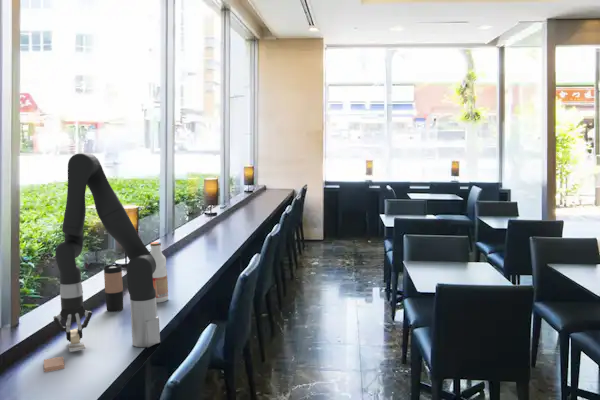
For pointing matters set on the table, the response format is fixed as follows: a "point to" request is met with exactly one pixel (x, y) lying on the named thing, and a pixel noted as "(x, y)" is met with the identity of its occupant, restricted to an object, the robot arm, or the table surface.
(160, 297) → the fruit juice
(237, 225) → the table surface
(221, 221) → the table surface
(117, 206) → the robot arm
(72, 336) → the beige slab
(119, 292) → the travel mug
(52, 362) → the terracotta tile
